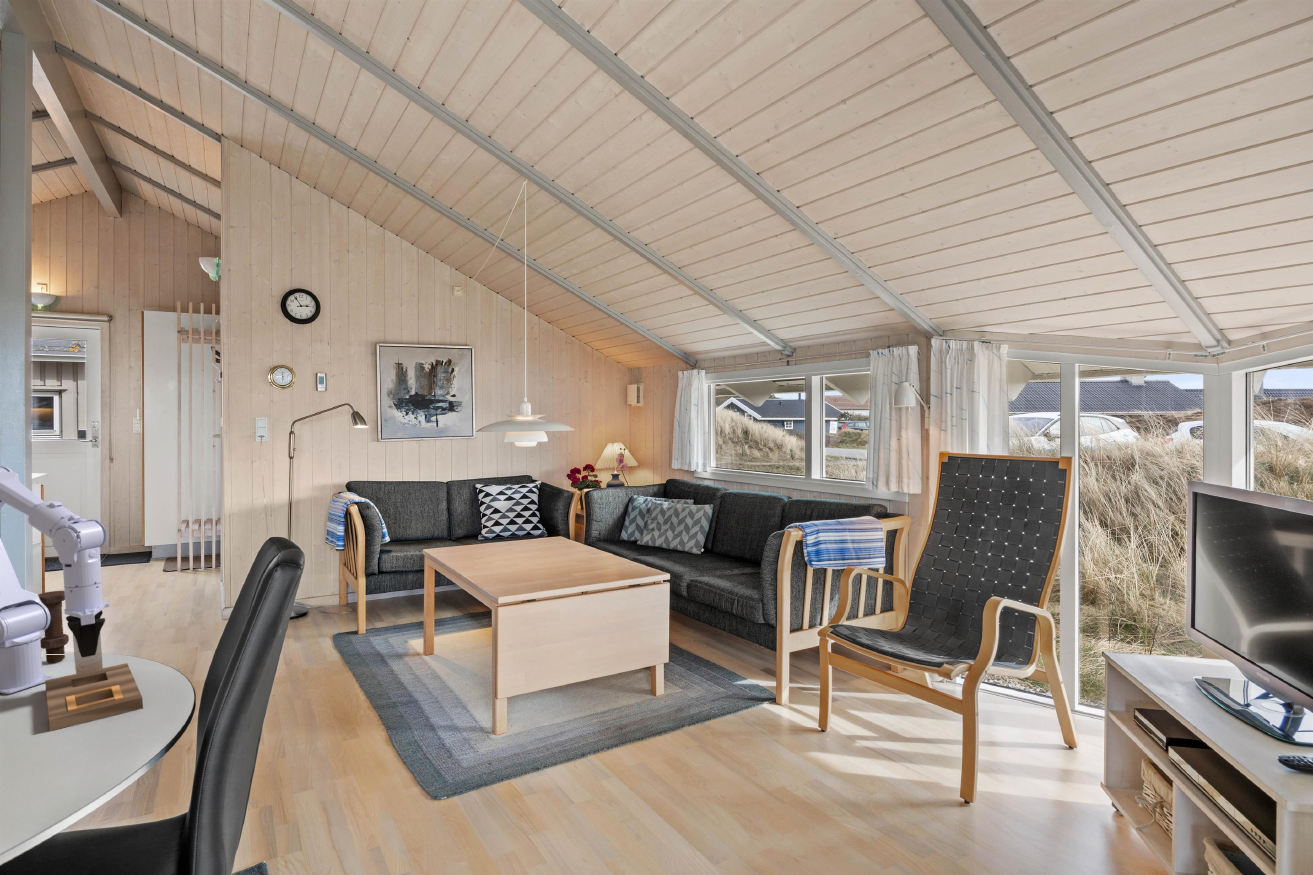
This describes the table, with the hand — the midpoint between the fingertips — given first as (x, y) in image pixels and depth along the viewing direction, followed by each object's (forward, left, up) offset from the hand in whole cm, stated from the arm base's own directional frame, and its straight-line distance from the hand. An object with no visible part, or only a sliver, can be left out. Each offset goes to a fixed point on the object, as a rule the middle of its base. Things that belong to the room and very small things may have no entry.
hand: (87, 652), depth 140 cm
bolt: (-25, +8, -8) cm, 27 cm away
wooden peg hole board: (+5, -3, -7) cm, 10 cm away
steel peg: (0, 0, -3) cm, 3 cm away
